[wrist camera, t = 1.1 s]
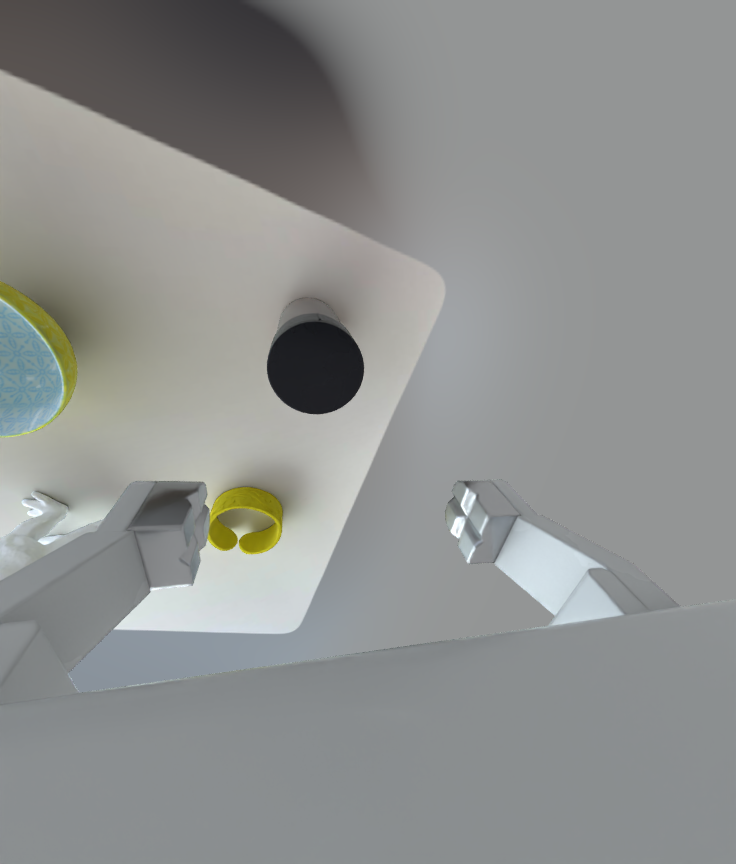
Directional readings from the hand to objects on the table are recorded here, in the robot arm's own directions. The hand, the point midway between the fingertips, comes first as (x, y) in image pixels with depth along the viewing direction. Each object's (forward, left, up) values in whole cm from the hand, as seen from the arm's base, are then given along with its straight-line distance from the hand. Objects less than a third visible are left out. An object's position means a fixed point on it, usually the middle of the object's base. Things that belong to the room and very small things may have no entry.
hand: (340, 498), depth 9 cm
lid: (0, 0, -14) cm, 14 cm away
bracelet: (+22, -6, -23) cm, 33 cm away
